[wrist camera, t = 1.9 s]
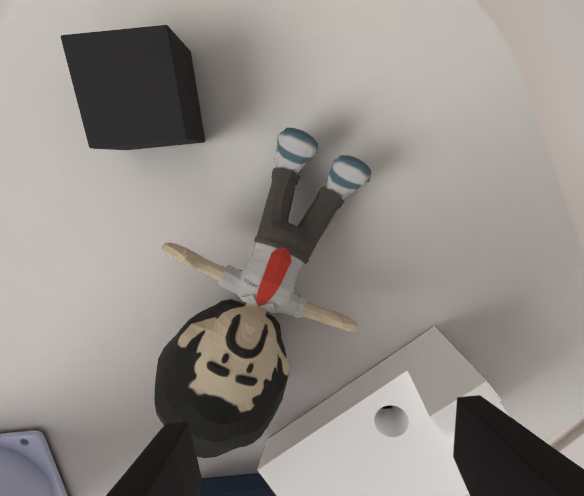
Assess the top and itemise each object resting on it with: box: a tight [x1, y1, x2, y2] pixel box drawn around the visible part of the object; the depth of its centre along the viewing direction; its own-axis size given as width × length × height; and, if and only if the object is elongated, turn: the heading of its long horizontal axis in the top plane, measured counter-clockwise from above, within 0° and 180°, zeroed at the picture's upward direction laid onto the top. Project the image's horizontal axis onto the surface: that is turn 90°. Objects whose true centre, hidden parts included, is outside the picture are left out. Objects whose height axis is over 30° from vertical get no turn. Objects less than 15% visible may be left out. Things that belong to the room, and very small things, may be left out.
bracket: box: [257, 326, 511, 496], centre depth 17 cm, size 13×7×8 cm, turn 129°
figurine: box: [154, 128, 371, 458], centre depth 16 cm, size 10×7×15 cm
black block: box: [61, 25, 205, 150], centre depth 14 cm, size 4×4×3 cm
